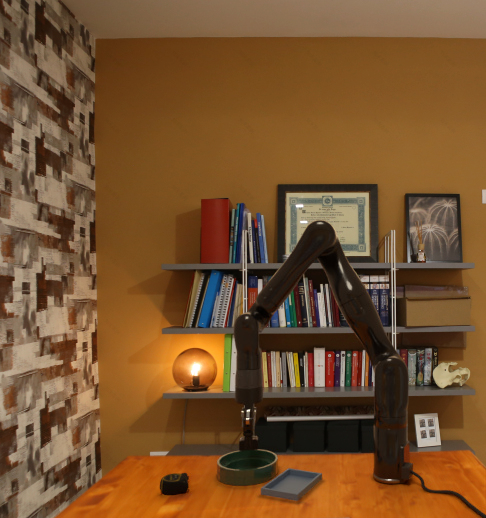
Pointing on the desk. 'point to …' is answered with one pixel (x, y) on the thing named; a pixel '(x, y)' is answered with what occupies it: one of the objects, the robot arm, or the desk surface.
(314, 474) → the tray
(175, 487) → the tape measure
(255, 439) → the clip
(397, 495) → the desk surface
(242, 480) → the bowl
